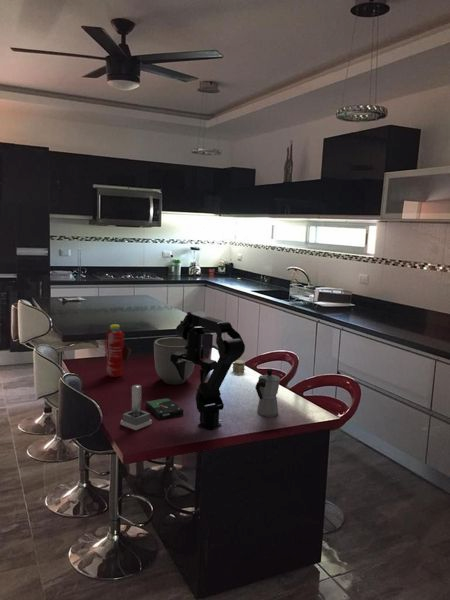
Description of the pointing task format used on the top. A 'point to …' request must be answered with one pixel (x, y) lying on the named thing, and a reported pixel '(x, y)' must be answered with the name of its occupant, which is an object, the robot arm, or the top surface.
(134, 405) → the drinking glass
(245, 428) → the top surface
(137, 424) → the square open box
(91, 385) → the top surface
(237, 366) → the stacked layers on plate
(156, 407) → the disk drive
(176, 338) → the planter
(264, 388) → the coffee maker
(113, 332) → the water bottle
